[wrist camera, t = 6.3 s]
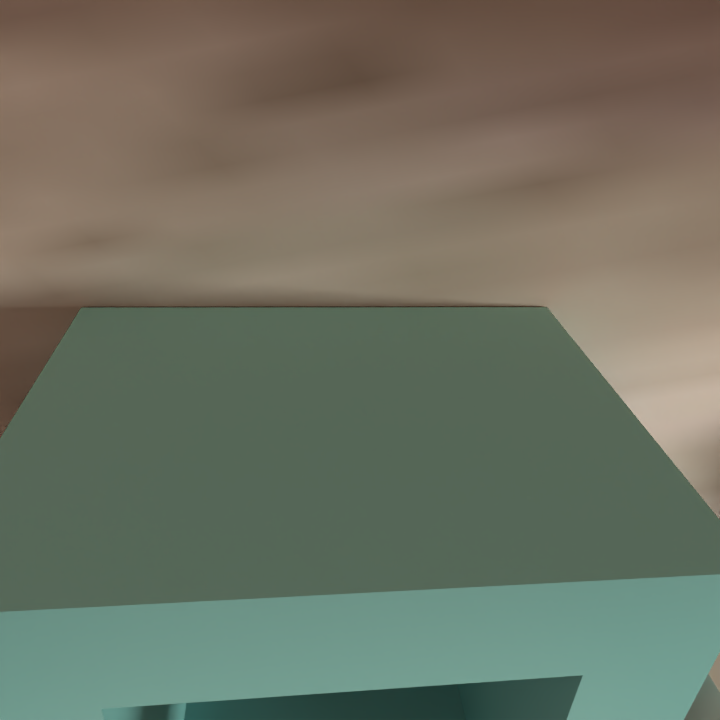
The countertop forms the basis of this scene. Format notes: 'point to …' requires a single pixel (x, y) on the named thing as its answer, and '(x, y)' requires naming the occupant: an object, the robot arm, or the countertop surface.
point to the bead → (344, 525)
